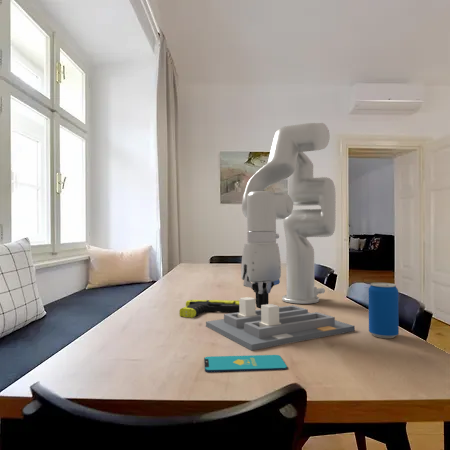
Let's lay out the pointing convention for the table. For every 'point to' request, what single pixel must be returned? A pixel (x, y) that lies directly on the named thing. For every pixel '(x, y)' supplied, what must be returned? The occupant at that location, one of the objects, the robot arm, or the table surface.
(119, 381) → the table surface
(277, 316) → the tab
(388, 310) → the beverage can
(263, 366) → the smartphone
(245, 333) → the switch board
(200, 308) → the stun gun
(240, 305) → the tab
